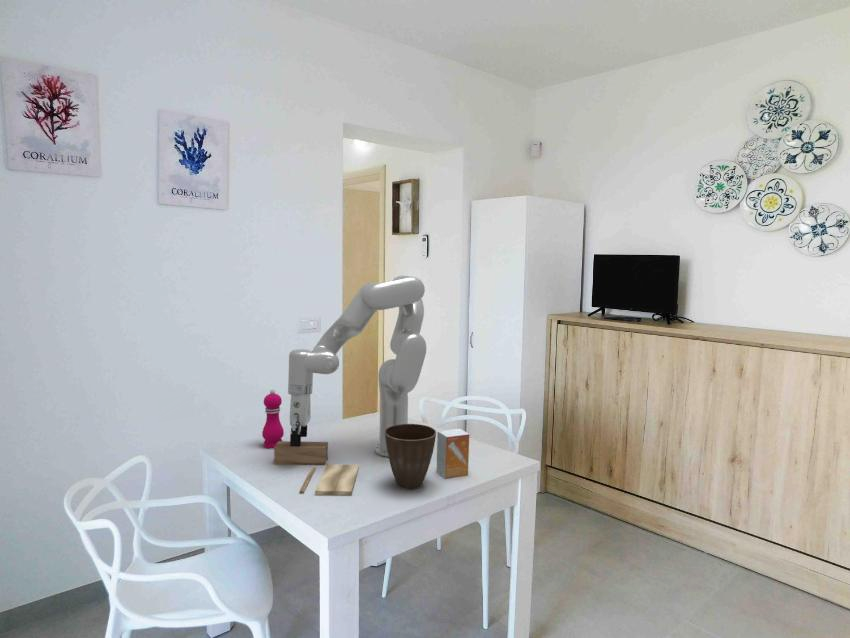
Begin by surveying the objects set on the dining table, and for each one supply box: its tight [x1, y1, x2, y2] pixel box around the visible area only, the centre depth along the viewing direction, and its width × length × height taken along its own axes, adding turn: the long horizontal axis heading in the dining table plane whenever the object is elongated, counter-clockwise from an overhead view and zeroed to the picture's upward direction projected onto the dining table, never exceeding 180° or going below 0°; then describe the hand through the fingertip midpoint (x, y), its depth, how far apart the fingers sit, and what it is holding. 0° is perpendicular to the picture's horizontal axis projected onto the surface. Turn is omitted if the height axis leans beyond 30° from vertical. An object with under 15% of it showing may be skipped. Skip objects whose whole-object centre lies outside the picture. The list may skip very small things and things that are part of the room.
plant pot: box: [385, 423, 437, 490], centre depth 160 cm, size 15×15×16 cm
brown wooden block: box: [273, 440, 329, 467], centre depth 177 cm, size 6×16×6 cm, turn 91°
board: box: [298, 463, 360, 497], centre depth 162 cm, size 15×20×1 cm
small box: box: [436, 428, 470, 479], centre depth 169 cm, size 8×6×13 cm
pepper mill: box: [261, 389, 285, 449], centre depth 191 cm, size 7×7×20 cm
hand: (298, 441), depth 176 cm, fingers open, 9 cm apart
